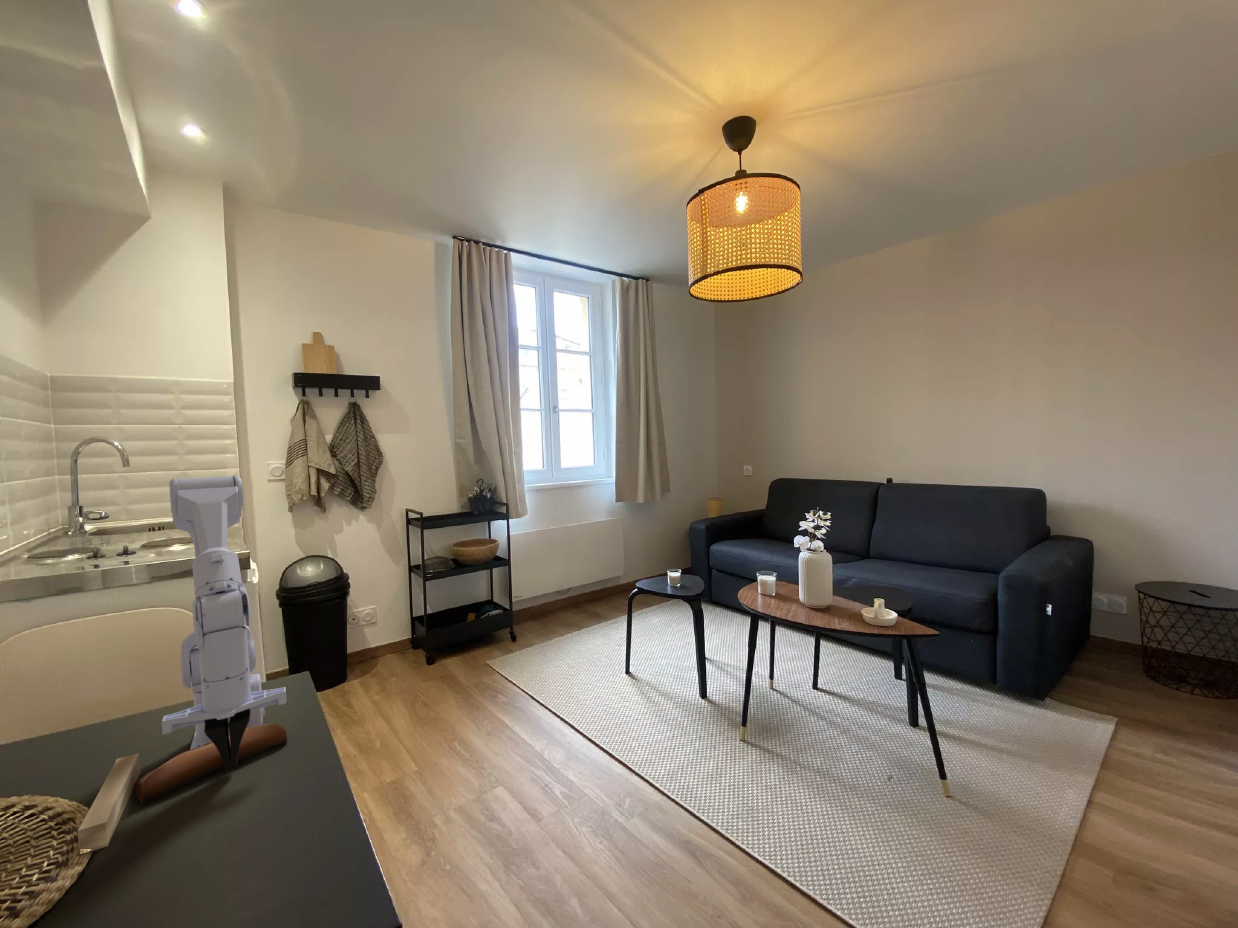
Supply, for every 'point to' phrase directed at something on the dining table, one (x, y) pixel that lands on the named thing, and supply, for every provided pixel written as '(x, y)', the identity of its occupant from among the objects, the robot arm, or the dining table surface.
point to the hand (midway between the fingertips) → (231, 763)
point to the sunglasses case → (204, 762)
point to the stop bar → (109, 804)
